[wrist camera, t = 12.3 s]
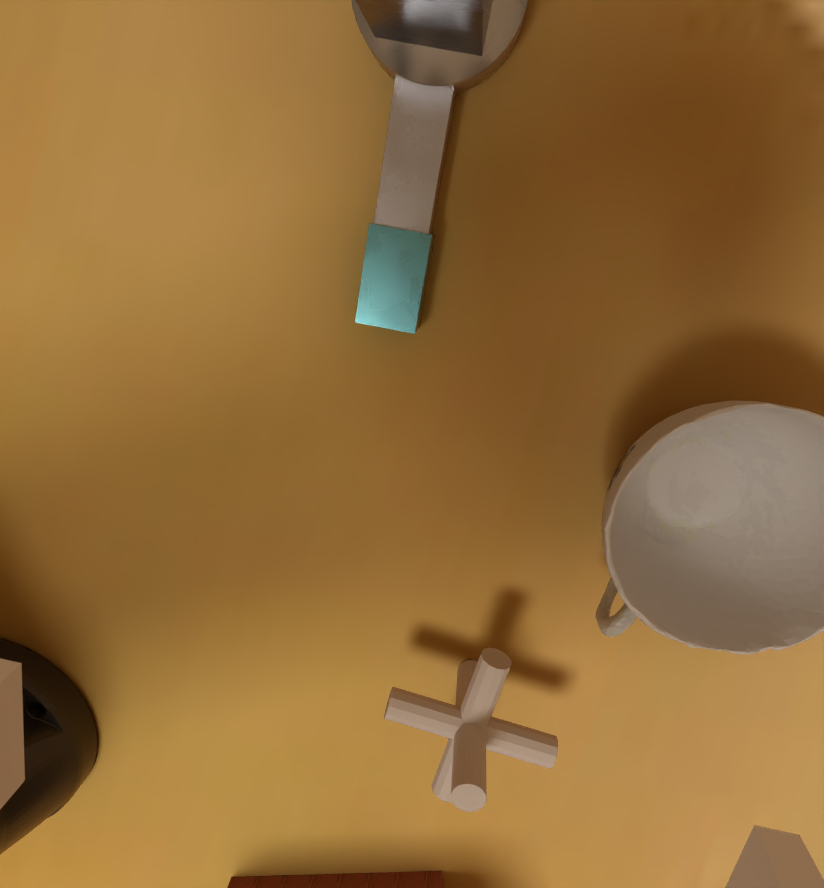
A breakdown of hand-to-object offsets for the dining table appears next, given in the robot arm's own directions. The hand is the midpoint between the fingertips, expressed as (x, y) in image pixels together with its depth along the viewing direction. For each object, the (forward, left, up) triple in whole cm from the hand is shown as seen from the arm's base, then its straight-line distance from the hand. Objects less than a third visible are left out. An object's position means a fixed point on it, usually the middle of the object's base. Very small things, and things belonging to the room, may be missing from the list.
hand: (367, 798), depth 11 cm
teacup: (+14, -2, -27) cm, 30 cm away
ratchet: (-4, +14, -27) cm, 31 cm away
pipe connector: (+5, -17, -27) cm, 32 cm away
